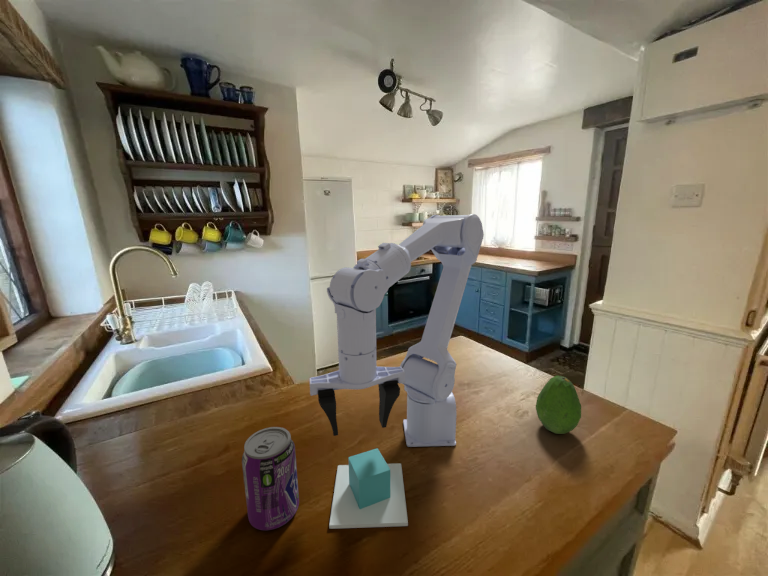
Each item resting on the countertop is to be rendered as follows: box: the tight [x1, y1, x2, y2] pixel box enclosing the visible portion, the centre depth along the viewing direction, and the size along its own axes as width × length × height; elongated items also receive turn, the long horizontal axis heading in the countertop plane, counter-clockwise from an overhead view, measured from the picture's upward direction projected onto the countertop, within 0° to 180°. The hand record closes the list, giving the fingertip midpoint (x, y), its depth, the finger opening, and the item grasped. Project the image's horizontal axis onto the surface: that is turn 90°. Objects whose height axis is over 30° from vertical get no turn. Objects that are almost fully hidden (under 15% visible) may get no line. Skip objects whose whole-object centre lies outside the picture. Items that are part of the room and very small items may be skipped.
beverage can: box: [241, 426, 300, 531], centre depth 45 cm, size 7×7×12 cm
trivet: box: [328, 463, 409, 530], centre depth 49 cm, size 11×11×1 cm
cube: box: [347, 448, 390, 509], centre depth 49 cm, size 5×5×5 cm
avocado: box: [535, 375, 582, 435], centre depth 63 cm, size 8×8×12 cm
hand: (359, 427), depth 50 cm, fingers open, 7 cm apart
